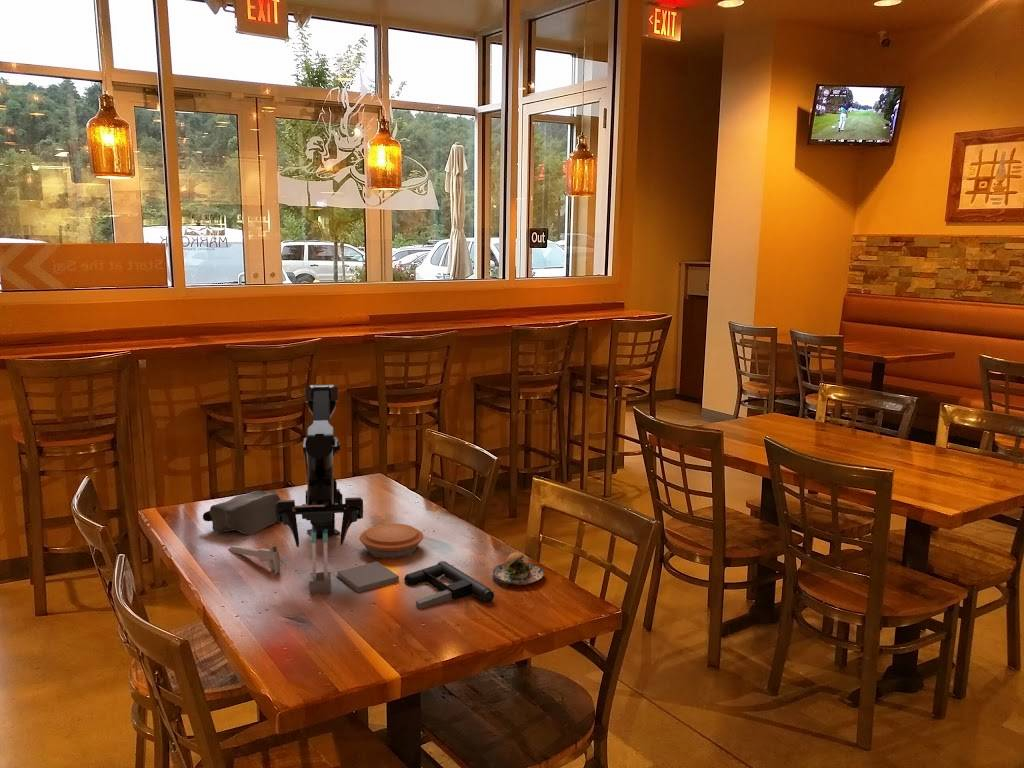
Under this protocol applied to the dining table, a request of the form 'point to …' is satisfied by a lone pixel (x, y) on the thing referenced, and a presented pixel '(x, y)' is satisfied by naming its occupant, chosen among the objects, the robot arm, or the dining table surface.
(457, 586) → the toy submachine gun
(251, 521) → the grey jug on side
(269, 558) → the caliper
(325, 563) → the block with twin posts
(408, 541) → the pie
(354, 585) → the plate
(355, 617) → the dining table surface
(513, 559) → the burger
